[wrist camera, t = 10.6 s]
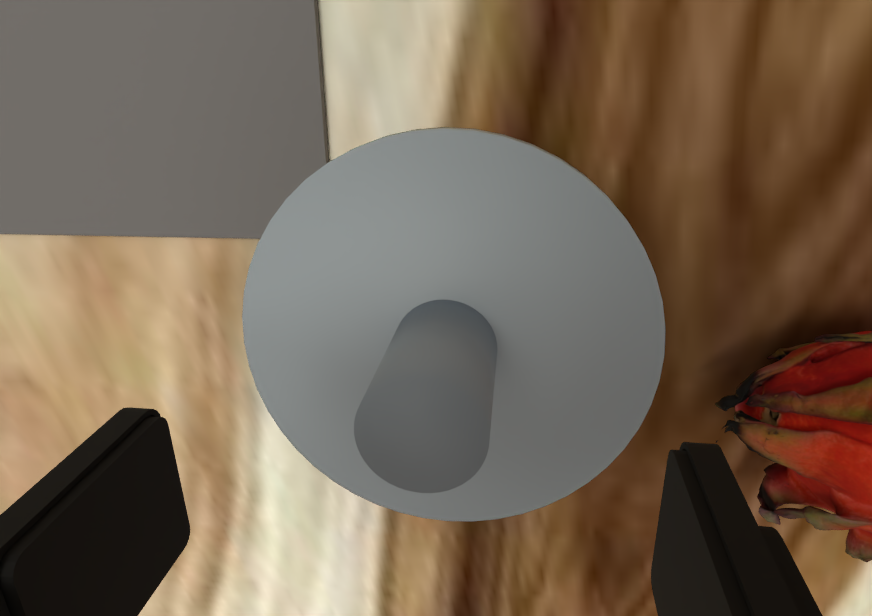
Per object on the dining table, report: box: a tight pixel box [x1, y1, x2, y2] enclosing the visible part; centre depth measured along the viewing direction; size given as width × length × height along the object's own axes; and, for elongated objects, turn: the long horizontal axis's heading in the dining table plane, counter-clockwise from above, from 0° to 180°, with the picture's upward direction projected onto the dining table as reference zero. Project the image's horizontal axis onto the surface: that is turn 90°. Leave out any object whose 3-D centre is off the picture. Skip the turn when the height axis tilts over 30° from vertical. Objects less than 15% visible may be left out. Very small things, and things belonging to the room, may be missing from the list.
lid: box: [242, 127, 665, 521], centre depth 17 cm, size 13×13×6 cm
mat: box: [0, 0, 329, 239], centre depth 22 cm, size 16×16×1 cm
